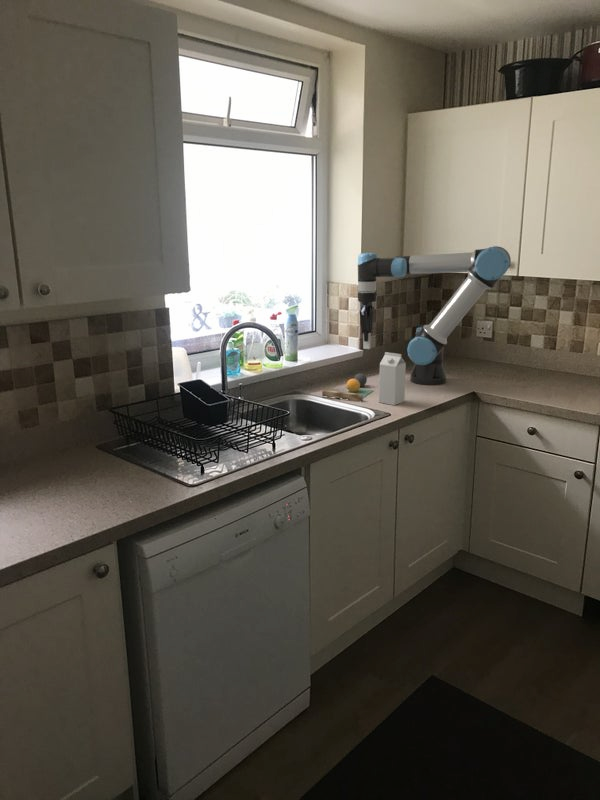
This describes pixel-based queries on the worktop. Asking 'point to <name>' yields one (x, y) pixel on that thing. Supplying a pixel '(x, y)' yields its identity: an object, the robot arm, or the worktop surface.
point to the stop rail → (343, 395)
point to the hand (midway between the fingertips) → (366, 348)
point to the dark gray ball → (361, 379)
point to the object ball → (353, 385)
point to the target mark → (362, 392)
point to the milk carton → (392, 379)
